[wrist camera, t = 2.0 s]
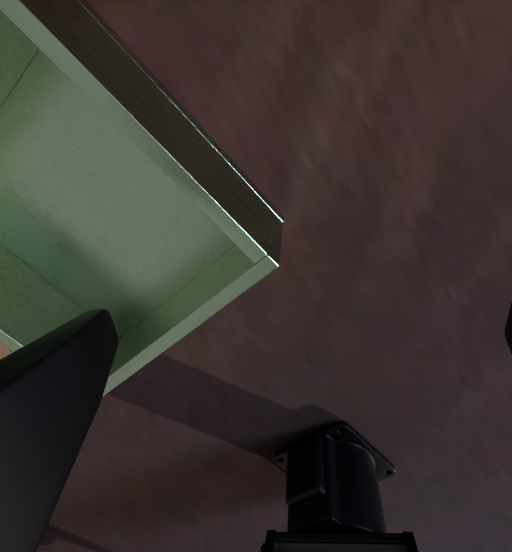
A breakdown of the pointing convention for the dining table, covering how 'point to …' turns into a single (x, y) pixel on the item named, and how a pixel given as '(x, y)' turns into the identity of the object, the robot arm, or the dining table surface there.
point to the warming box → (113, 192)
